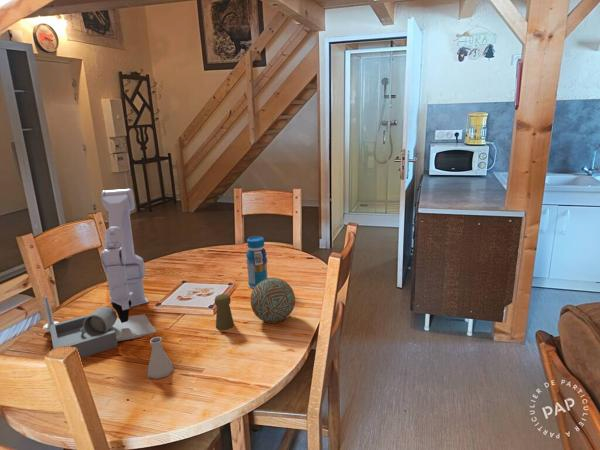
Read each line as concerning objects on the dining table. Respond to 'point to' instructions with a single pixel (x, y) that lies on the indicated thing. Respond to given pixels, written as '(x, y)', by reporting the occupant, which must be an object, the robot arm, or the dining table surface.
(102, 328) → the ceramic mug
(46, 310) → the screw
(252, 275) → the beverage bottle
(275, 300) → the decorative sphere
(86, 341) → the dock
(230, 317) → the olive pawn
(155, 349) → the flask
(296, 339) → the dining table surface
